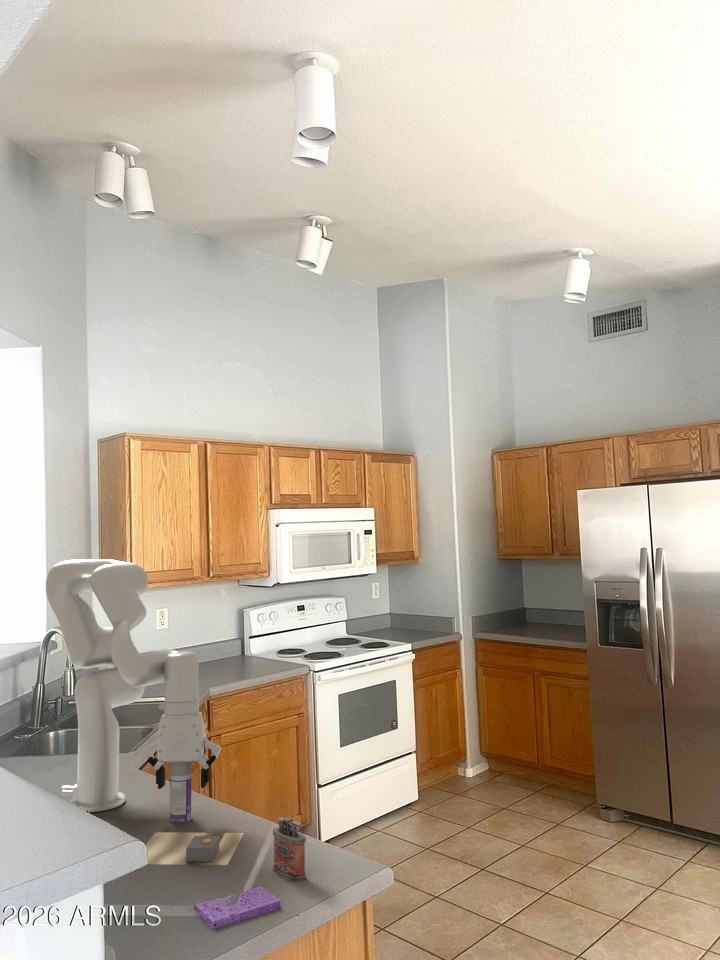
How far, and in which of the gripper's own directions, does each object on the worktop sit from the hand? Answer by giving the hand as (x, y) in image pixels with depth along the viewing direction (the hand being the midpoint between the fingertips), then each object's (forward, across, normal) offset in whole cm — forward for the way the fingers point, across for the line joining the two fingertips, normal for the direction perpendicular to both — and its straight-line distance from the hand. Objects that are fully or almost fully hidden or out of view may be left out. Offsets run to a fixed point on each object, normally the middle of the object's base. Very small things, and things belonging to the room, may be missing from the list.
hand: (182, 786), depth 168 cm
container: (+8, -1, 0) cm, 9 cm away
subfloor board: (+9, +6, -16) cm, 19 cm away
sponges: (+10, +20, -39) cm, 45 cm away
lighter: (+10, +27, -25) cm, 38 cm away
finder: (+8, +10, -20) cm, 23 cm away
